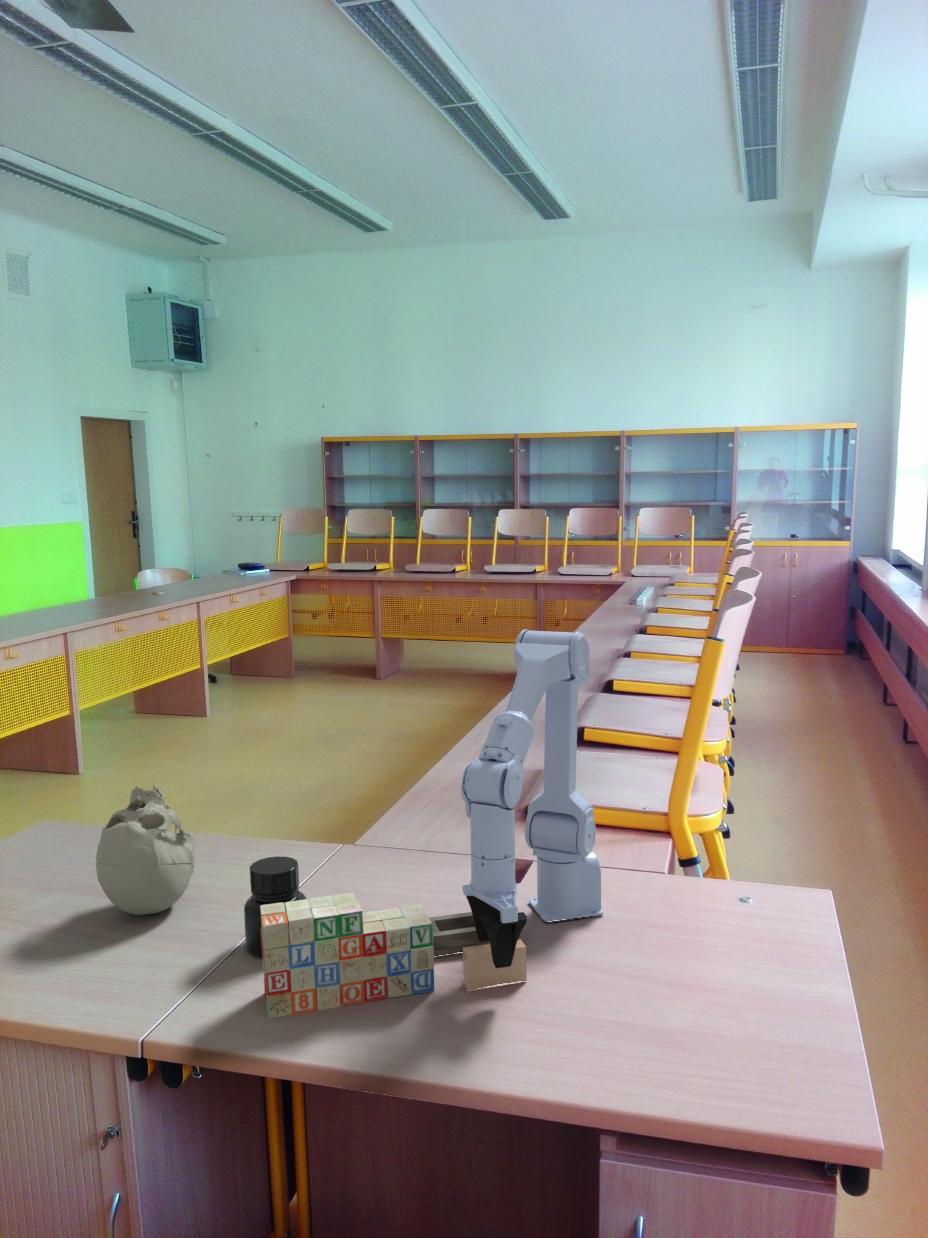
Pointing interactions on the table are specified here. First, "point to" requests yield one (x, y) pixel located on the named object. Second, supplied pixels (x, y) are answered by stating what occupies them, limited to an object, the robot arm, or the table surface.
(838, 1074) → the table surface
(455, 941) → the shallow rectangular tray
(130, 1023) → the table surface
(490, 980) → the tan rectangular block
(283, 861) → the ink bottle
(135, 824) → the skull
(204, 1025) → the table surface
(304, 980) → the stack of blocks
